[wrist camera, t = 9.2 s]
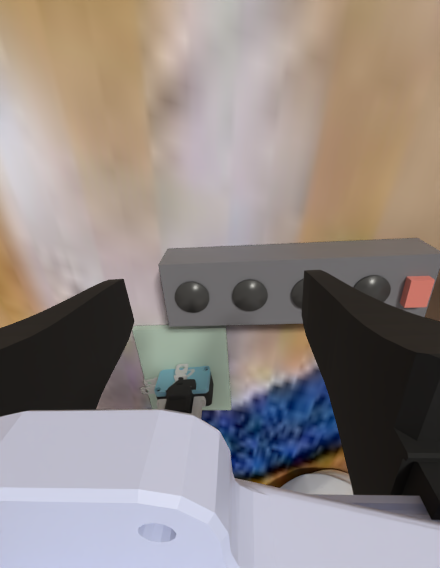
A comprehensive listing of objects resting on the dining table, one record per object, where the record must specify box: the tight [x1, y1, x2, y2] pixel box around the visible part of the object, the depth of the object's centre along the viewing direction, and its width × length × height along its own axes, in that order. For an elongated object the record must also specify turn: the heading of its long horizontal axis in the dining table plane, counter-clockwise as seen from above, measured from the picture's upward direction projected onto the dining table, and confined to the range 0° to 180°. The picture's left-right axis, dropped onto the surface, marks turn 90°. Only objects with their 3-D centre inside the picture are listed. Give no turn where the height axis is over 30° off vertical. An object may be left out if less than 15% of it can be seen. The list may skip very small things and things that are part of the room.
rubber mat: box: [132, 325, 231, 410], centre depth 27 cm, size 8×10×1 cm
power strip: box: [158, 238, 440, 327], centre depth 21 cm, size 18×5×4 cm, turn 94°
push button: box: [141, 363, 214, 419], centre depth 23 cm, size 7×5×10 cm
